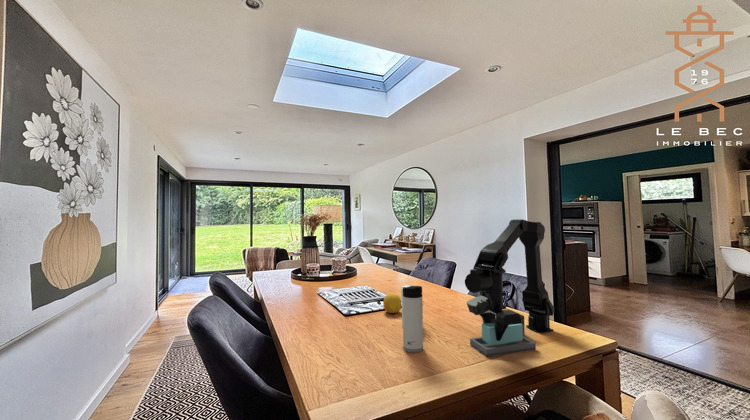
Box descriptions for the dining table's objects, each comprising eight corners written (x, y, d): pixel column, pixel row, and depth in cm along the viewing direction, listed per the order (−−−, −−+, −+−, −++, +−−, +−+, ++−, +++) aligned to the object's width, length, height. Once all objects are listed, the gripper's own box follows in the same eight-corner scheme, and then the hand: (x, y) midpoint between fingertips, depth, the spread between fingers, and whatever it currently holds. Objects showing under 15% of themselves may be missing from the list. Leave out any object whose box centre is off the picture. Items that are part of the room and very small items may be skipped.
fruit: (381, 310, 135) (380, 292, 136) (398, 308, 137) (397, 291, 138) (386, 316, 127) (386, 297, 127) (404, 314, 129) (404, 296, 129)
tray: (516, 339, 102) (516, 332, 102) (535, 349, 94) (535, 342, 94) (470, 345, 97) (470, 338, 97) (486, 357, 89) (486, 349, 89)
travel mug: (411, 355, 91) (410, 288, 91) (399, 347, 97) (398, 284, 97) (427, 350, 94) (426, 286, 94) (415, 343, 99) (414, 282, 100)
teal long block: (514, 335, 99) (513, 320, 99) (522, 340, 95) (522, 324, 95) (482, 339, 96) (481, 323, 96) (489, 344, 92) (489, 328, 92)
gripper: (455, 283, 102) (455, 330, 102) (489, 297, 84) (490, 353, 84) (483, 281, 105) (484, 326, 105) (522, 294, 87) (523, 349, 87)
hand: (494, 337), depth 95 cm, fingers closed on teal long block, 4 cm apart
